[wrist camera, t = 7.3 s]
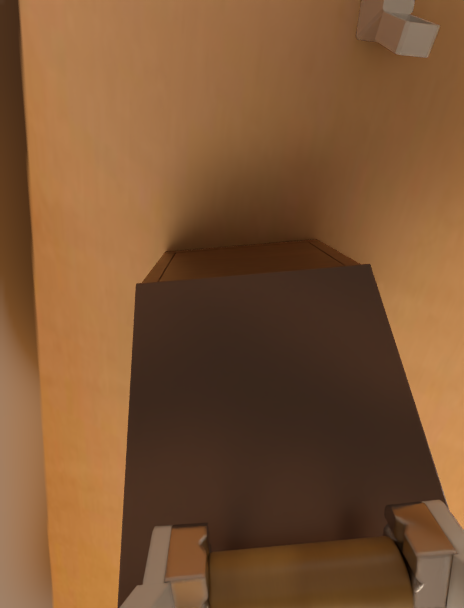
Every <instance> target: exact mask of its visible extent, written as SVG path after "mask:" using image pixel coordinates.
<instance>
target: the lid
mask: <svg viewBox="0 0 464 608" xmlns="http://www.w3.org/2000/svg"><path fill="white" fill-rule="evenodd" d="M431 500H441V501H442V502H444V504H445V505H446V506H447V508H448V505H447V502H446V498H445V495H444V492H443V489H442V486H441V483H440V480H439V477H438V474H437V470H436V467H435V464H434V461H433V458H432V455H431V452H430V449H429V446H428V443H427V439H426V436H425V433H424V430H423V427H422V424H421V421H420V418H419V415H418V411H417V408H416V405H415V402H414V399H413V396H412V393H411V390H410V387H409V383H408V380H407V377H406V374H405V371H404V368H403V365H402V362H401V359H400V356H399V352H398V349H397V346H396V343H395V340H394V337H393V334H392V331H391V328H390V324H389V321H388V318H387V315H386V312H385V309H384V306H383V303H382V300H381V297H380V293H379V290H378V287H377V284H376V281H375V278H374V275H373V272H372V269H371V265H370V264H363V265H351V266H339V267H327V268H315V269H303V270H291V271H280V272H268V273H256V274H244V275H232V276H220V277H208V278H197V279H185V280H173V281H161V282H149V283H137V284H136V293H135V311H134V329H133V346H132V364H131V381H130V399H129V416H128V434H127V451H126V469H125V486H124V504H123V521H122V539H121V556H120V574H119V592H118V608H120V606H121V605H122V604H123V602H124V601H125V600H126V599H127V597H128V596H129V595H130V594H131V592H132V591H133V590H134V588H135V587H136V586H137V585H142V584H143V579H144V574H145V568H146V563H147V558H148V552H149V547H150V542H151V536H152V532H153V529H154V527H155V526H166V525H177V524H192V523H208V525H209V532H210V535H209V543H210V544H211V548H212V553H210V555H209V560H208V568H209V586H208V598H209V603H210V608H414V599H413V592H412V587H411V582H410V578H409V574H408V571H407V568H406V565H405V562H404V560H403V557H402V555H401V553H400V551H399V549H398V547H397V546H396V544H395V542H394V541H393V540H392V539H391V538H390V537H387V536H383V528H384V527H385V526H386V525H387V523H388V522H387V520H386V518H385V516H384V511H385V507H386V505H391V504H401V503H410V502H419V501H420V502H422V501H431ZM448 509H449V508H448Z"/></svg>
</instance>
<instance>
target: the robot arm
mask: <svg viewBox="0 0 464 608" xmlns="http://www.w3.org/2000/svg"><path fill="white" fill-rule="evenodd" d="M384 516H385V518H386V520H387V522H388V523H387V525H386V526H385V527H384V528H383V536H387V537H390V538H391V539H392V540H393V541H394V542H395V544H396V546H397V547H398V549H399V551H400V553H401V555H402V557H403V560H404V562H405V565H406V568H407V571H408V574H409V578H410V582H411V587H412V592H413V599H414V608H464V530H463V528H462V527H461V526H460V524H459V523H458V521H457V520H456V519H455V517H454V516H453V515H452V513H451V512H450V511H449V509H448V508H447V506H446V505H445V504H444V502H442V501H441V500H431V501H422V502H420V501H419V502H410V503H401V504H391V505H386V507H385V511H384ZM209 535H210V532H209V525H208V523H192V524H177V525H166V526H155V527H154V529H153V532H152V536H151V542H150V547H149V552H148V558H147V563H146V568H145V574H144V579H143V584H142V585H137V586H136V587H135V588H134V590H133V591H132V592H131V594H130V595H129V596H128V597H127V599H126V600H125V601H124V602H123V604H122V605H121V606H120V608H210V603H209V598H208V586H209V568H208V560H209V555H210V553H212V548H211V544H210V543H209Z"/></svg>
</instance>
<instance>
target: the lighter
mask: <svg viewBox="0 0 464 608" xmlns="http://www.w3.org/2000/svg"><path fill="white" fill-rule="evenodd" d="M414 3H415V0H361V6H360V13H359V19H358V25H357V32H356V38H357V39H358V40H364V41H373V42H378V43H380V44H381V45H383V46H384V47H386V48H387V49H389V50H390V51H392V52H393V53H395V54H398V55H406V56H415V57H424V58H428V57H429V54H430V51H431V49H432V46H433V44H434V41H435V38H436V36H437V33H438V31H439V28H440V25H438V24H435V23H432V22H430V21H427V20H425V19H422V18H419V17H417V16H414V15H410V14H411V13H412V12H413V8H414Z"/></svg>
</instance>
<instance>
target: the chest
mask: <svg viewBox="0 0 464 608" xmlns="http://www.w3.org/2000/svg"><path fill="white" fill-rule="evenodd" d="M351 265H361V264H360V263H358V262H356V261H354V260H353V259H351V258H349V257H347V256H346V255H344V254H342V253H340V252H338V251H337V250H335V249H333V248H331V247H330V246H328V245H326V244H324V243H323V242H321V241H319V240H317V239H313V240H301V241H289V242H277V243H265V244H253V245H241V246H229V247H217V248H205V249H193V250H181V251H169V252H165V253H164V254H163V256H162V257H161V258H160V260H159V261H158V262H157V263H156V265H155V266H154V267H153V269H152V270H151V271H150V273H149V274H148V275H147V277H146V278H145V279H144V281H143V282H142V283H149V282H161V281H173V280H185V279H197V278H208V277H220V276H232V275H244V274H256V273H268V272H280V271H291V270H303V269H315V268H327V267H339V266H351Z"/></svg>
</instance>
